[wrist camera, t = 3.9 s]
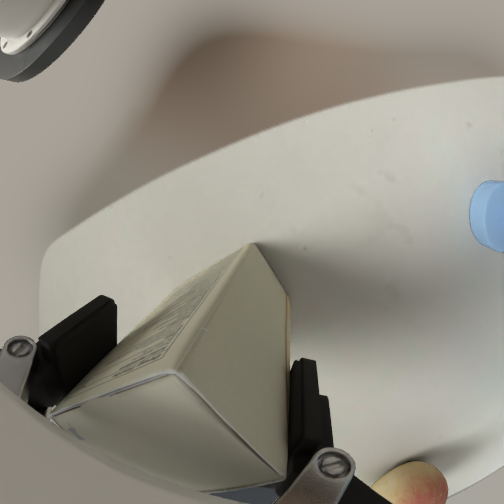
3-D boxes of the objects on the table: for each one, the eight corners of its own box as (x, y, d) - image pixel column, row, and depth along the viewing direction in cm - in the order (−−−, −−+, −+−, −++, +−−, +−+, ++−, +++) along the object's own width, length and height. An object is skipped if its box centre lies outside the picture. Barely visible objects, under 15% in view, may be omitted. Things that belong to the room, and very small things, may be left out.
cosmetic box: (211, 340, 18) (135, 497, 6) (171, 286, 18) (42, 414, 6) (294, 297, 17) (294, 486, 5) (254, 234, 16) (170, 369, 4)
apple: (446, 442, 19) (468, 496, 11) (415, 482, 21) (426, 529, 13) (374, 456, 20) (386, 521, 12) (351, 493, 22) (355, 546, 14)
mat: (171, 494, 26) (169, 499, 25) (174, 458, 23) (172, 463, 22) (256, 515, 25) (256, 520, 24) (284, 484, 22) (284, 490, 21)
